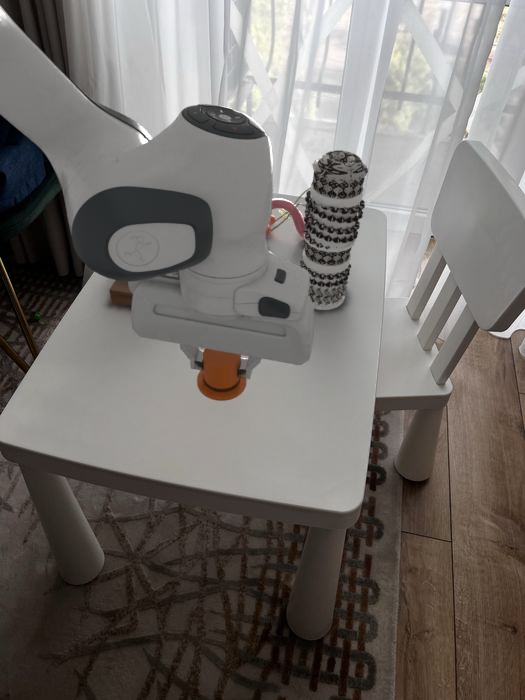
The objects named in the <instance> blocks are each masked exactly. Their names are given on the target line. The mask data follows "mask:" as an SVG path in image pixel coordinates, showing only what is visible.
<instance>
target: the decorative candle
mask: <svg viewBox="0 0 525 700" xmlns="http://www.w3.org/2000/svg"><path fill="white" fill-rule="evenodd" d="M312 168H313V177H312V182H311V183H310V187H311V188H310V187H309V188H310V189H309V190H308V191H307V192H305V193H306V194H305V197H304V201H305V202H306V204H305V205H306V206H304V207H305V209H304V216H303V217H304V222H305V225H304V228H305V229H304V230H303V232H304V238H303V240H304V242H305V241H306V243H305V244H304V245H305V246H304V248H303V250H302V255H301V259H300V260H299V264H300V267H302V268H304V269H306V270H307V271H308V272H309V277H310V284H309V293H308V295H309V297H310V298H311V300H312V303H313V307H314V310H319V311H330V310H334V309H336V308H338V307H340V306H341V305H342V304H343V303H344V301H345V299H346V297H345V296H346V292H347V290H348V289H347V287H348V286H347V285H348V284H349V281H348V280H349V276H350V275H351V274H350V270H351V268H352V264H351V259H352V258H351V257H352V254H351V251H352V247H354V246H355V243H356V242H357V238H358V235H359V231H358V230H359V229H360V228H361V227H360V220H361V219H363V214H364V211H363V210H364V209H365V207H366V205H365V204H366V202H365V200H364V199H363V197H364V191H365V190H364V183H365V177H366V176H367V175H368V173H369V169H368V167H367V164H365V163H363V160H362V158H361V157H360V156H359V155H358V154H355V153H354V152H351V151H347V150H341V149H337V150H336V149H335V150H329V151H327V152H325V153H323V154H322V155H321V157H319V158H317V159H315V160H314V161H313V163H312Z"/></svg>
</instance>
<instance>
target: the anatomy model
mask: <svg viewBox="0 0 525 700" xmlns="http://www.w3.org/2000/svg"><path fill="white" fill-rule="evenodd" d="M310 188H311V186H310V187H309V188H307V189H306V190H304V191H303V192H302V193H301V194H300V195H299V196H298V198H297V199H296V200H295V201H294V202H292V201H290V200H288V199H285V198H273V199H272V210H276V209H278V212H279V214H281V216H279V217H277V218H276V216H274V215H271V219H270V222H269V224H268V227H267V230H266V237H267V236H268V235H271V233H272V232H273V231H274V230H276V229H277V228H279V227H280V226H281V225H282V224H284V223H285V221H288V220H289V218H292V221H293V225H294V227H295V230H296V232H297V234H298V235H299V236H300V237H301V238H303V239H304V232H303V230H304V229H305V228H304V225H305V222H304V217H305V216H304V215H303V213H302V212H301V211H300V209H299V208H298V206H304V207H305V206H306V204H305V203H302V202H299V200H300V199H301V198H302V196H303V195H304V194H305V193H307V191H309V190H310ZM281 209H282V210H281ZM283 212H284V213H283ZM282 218H283V220H282V221H281V222H279V223H278V224H277V225H276V226H275V227H273V228H271V226H273V225H274V224H276V222H277V221H279V220H280V219H282ZM304 242H305V243H306V241H305V240H304Z"/></svg>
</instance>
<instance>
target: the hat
mask: <svg viewBox="0 0 525 700" xmlns="http://www.w3.org/2000/svg"><path fill="white" fill-rule="evenodd" d="M203 351H204V352H203V371H202V370H199V372H198V374H197V377H196V385H197V389H198V391H199V392H200V393H201V394H202V395H203V396H204V397H206V398H207V399H210V400H214V401H216V402H217V401H218V402H225V401H227V402H228V401H231V400H234V399H236V398H238V397H239V396H241V395H242V393H243V392H244V391H245V389H246V387H247V379H245V378H240V377H238V367H239V365H240V363H241V358H242V355H239V354H233V353H228V352H222V351H217V350H211V349H205V348H204V350H203Z"/></svg>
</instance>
